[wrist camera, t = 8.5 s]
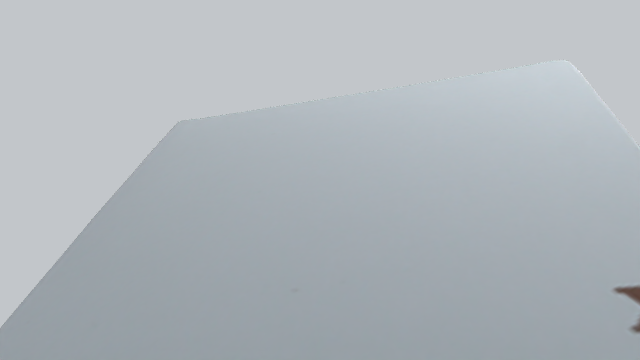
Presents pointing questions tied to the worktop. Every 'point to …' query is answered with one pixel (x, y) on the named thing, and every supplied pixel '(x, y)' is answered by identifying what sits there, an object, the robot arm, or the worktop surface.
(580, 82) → the supplement box
